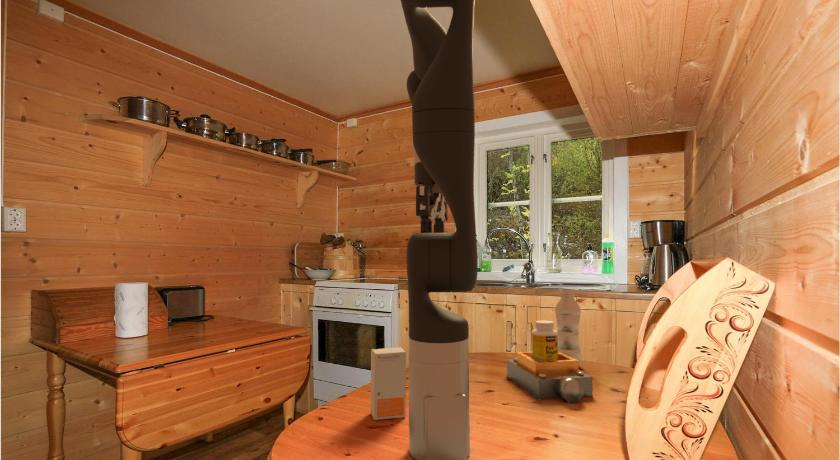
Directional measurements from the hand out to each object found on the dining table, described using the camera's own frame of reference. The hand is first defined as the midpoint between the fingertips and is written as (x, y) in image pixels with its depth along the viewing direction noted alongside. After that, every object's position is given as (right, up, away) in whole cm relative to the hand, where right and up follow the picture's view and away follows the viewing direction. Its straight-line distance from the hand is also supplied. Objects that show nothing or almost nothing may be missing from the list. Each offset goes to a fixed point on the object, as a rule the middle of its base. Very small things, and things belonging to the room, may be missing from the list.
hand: (433, 240), depth 90 cm
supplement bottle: (+26, -29, +8) cm, 40 cm away
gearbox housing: (+26, -33, +6) cm, 42 cm away
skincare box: (-9, -33, -9) cm, 35 cm away
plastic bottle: (+36, -34, +23) cm, 55 cm away
